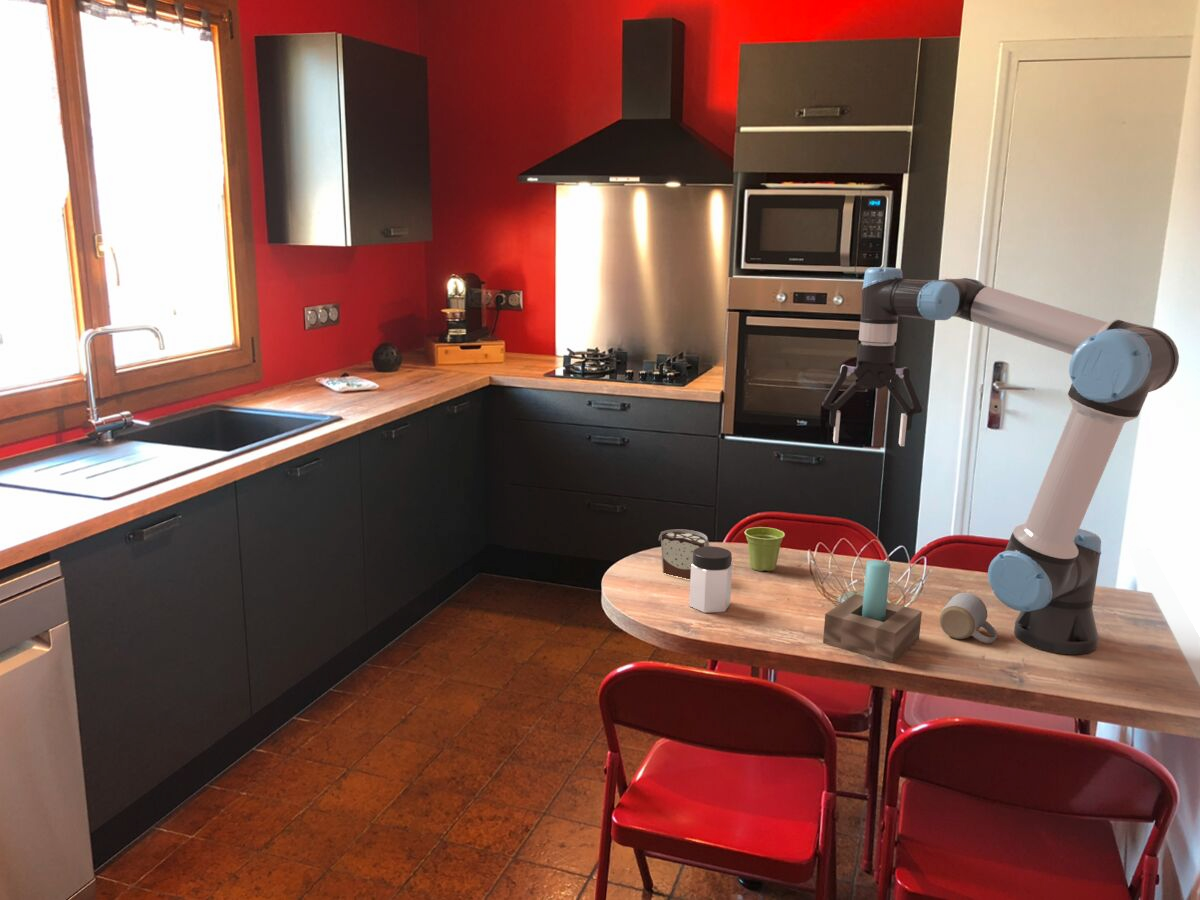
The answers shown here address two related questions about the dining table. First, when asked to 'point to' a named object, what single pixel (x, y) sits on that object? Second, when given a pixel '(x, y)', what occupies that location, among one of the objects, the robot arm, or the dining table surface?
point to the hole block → (872, 629)
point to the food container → (680, 550)
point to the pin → (876, 590)
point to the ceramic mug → (966, 618)
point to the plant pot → (763, 547)
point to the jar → (710, 579)
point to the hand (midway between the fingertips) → (868, 443)
